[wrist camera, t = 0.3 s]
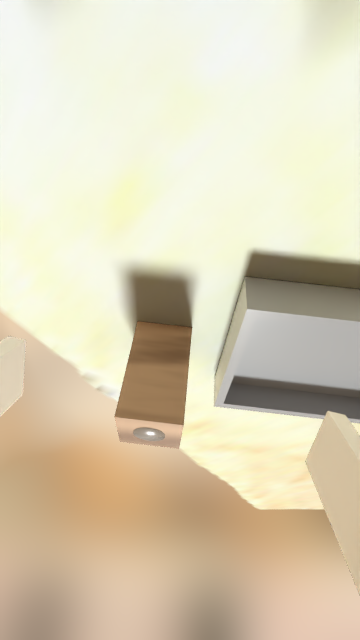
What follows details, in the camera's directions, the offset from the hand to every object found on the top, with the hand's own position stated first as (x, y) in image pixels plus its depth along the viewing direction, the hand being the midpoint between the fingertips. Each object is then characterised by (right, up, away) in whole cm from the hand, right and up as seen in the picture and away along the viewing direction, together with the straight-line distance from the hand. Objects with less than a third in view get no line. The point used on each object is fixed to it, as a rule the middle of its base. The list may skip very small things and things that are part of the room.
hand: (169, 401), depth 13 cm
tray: (+17, 0, +21) cm, 27 cm away
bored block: (-1, +1, +23) cm, 23 cm away
